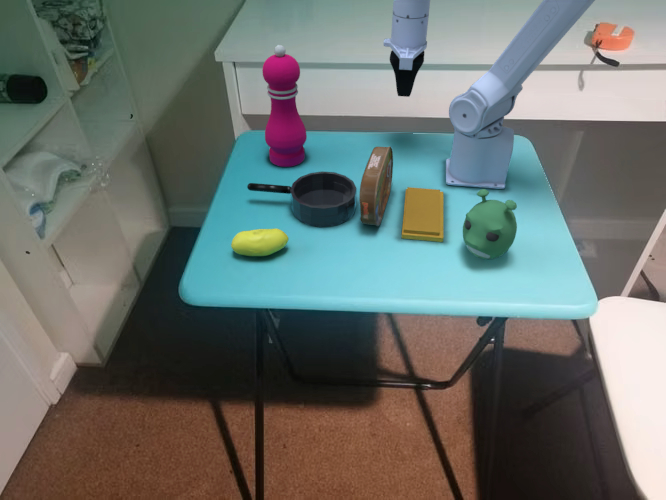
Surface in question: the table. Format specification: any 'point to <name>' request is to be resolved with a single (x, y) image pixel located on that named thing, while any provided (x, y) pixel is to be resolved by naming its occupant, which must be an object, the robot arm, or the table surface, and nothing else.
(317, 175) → the pan
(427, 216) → the yellow flat slab
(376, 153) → the tin
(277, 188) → the pan handle
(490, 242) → the alien toy
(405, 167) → the table surface
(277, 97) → the pepper mill
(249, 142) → the table surface
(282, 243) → the lemon
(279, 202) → the table surface
